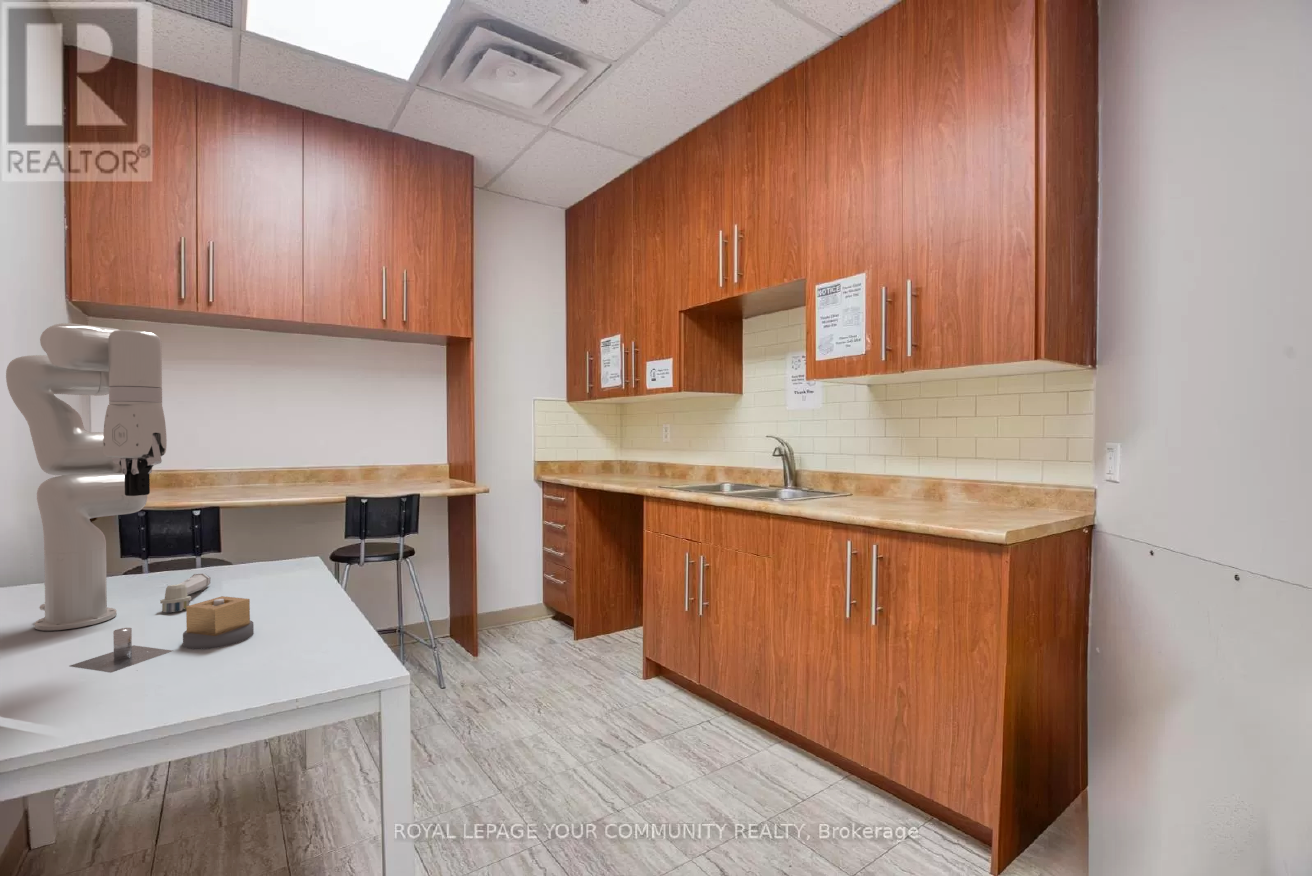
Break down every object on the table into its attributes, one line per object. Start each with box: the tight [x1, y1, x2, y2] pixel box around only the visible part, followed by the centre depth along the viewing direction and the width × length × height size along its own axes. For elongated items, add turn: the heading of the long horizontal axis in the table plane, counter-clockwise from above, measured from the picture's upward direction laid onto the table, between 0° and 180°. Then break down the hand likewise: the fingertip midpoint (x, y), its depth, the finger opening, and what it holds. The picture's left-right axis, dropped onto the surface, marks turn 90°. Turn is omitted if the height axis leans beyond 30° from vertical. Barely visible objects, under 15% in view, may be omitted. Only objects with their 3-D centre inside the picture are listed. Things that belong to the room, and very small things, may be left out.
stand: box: [69, 627, 174, 673], centre depth 105 cm, size 10×10×6 cm
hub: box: [182, 599, 255, 650], centre depth 115 cm, size 11×11×8 cm
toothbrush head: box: [159, 573, 211, 613], centre depth 145 cm, size 5×7×25 cm
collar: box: [185, 595, 251, 636], centre depth 115 cm, size 7×7×5 cm
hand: (137, 494), depth 112 cm, fingers closed
